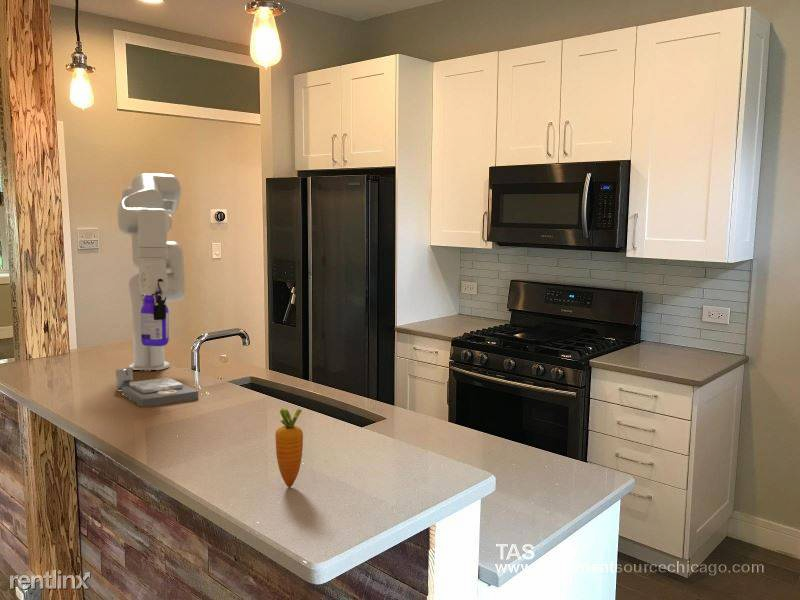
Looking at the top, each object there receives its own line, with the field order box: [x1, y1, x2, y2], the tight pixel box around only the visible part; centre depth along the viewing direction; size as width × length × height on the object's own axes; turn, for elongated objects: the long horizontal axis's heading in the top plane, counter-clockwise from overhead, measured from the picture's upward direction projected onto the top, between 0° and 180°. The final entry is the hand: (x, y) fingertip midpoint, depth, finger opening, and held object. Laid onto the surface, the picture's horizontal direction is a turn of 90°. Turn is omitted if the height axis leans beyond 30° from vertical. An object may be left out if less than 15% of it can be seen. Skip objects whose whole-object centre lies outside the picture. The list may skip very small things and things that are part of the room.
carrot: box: [275, 407, 304, 488], centre depth 122 cm, size 5×5×15 cm
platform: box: [130, 376, 184, 393], centre depth 187 cm, size 11×11×1 cm
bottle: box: [141, 293, 170, 347], centre depth 185 cm, size 7×6×17 cm
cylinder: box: [115, 367, 134, 390], centre depth 192 cm, size 4×4×6 cm
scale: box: [121, 379, 199, 409], centre depth 186 cm, size 17×15×3 cm
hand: (154, 317), depth 185 cm, fingers closed on bottle, 7 cm apart
